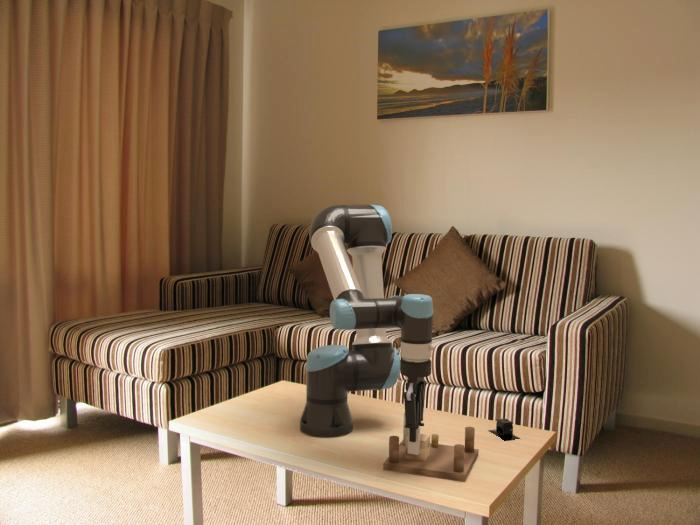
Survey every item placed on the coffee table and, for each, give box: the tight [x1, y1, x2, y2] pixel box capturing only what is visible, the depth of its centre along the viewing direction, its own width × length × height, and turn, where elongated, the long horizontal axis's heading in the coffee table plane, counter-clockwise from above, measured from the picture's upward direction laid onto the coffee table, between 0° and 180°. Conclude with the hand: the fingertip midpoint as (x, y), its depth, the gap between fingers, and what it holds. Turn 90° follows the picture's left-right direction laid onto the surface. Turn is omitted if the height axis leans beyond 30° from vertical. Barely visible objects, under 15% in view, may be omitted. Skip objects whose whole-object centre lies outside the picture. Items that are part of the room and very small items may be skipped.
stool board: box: [382, 426, 479, 483], centre depth 178 cm, size 20×18×8 cm
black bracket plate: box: [487, 418, 521, 442], centre depth 199 cm, size 12×7×5 cm, turn 17°
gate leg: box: [402, 412, 408, 444], centre depth 186 cm, size 6×3×8 cm, turn 76°
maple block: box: [405, 433, 431, 461], centre depth 177 cm, size 5×5×5 cm
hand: (413, 452), depth 174 cm, fingers closed
